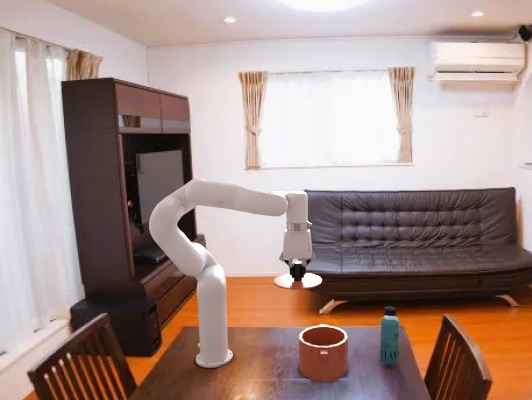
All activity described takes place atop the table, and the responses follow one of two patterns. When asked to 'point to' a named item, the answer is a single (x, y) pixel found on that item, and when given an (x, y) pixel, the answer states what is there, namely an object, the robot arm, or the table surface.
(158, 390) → the table surface
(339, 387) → the table surface
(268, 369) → the table surface
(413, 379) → the table surface
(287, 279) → the lid
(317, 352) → the dutch oven
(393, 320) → the beverage bottle
